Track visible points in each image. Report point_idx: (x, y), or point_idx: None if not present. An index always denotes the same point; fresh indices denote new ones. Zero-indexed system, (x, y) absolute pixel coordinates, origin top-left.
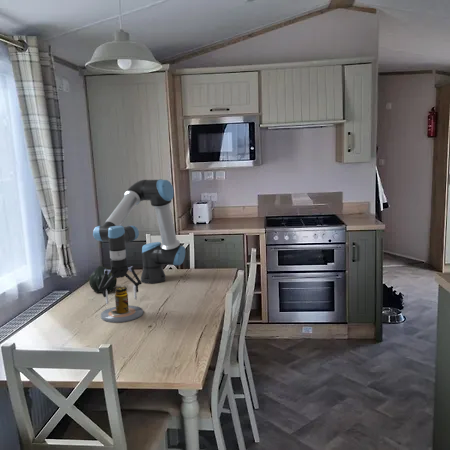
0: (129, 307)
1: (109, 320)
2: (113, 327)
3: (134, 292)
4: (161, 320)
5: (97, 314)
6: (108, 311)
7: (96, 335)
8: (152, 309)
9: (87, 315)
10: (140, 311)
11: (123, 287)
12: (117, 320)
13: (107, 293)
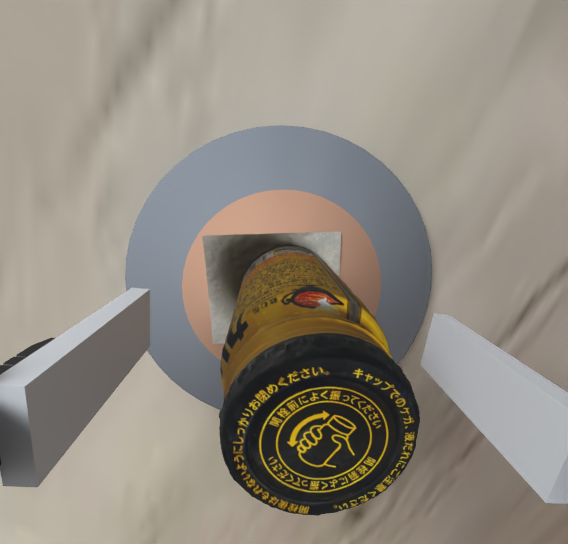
0: (366, 215)
1: (173, 376)
2: (183, 451)
3: (473, 401)
4: (435, 475)
5: (115, 175)
6: (195, 214)
7: (80, 506)
8: (486, 296)
9: (33, 150)
10: (396, 341)
11: (388, 405)
12: (218, 406)
13: (73, 439)
